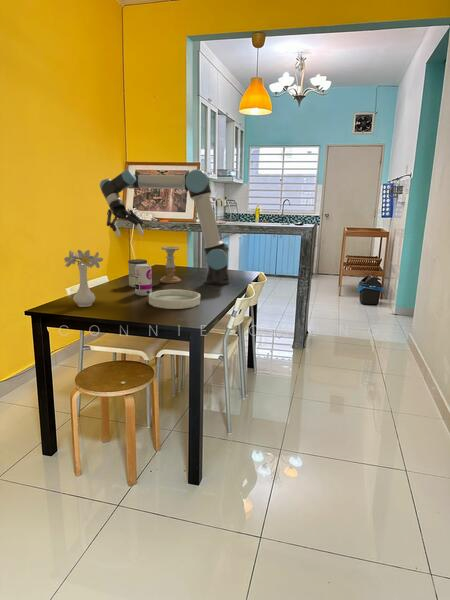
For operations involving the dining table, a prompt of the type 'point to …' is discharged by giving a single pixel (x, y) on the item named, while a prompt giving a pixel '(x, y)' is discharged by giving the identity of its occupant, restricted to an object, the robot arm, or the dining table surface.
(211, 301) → the dining table surface
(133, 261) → the coffee can
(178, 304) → the ceramic bowl
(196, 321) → the dining table surface
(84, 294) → the flower vase
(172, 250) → the candle holder
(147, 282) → the supplement can
